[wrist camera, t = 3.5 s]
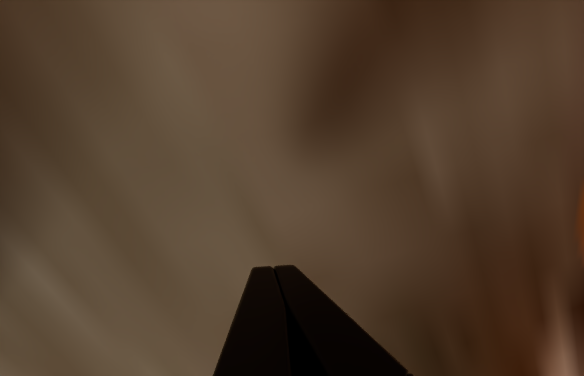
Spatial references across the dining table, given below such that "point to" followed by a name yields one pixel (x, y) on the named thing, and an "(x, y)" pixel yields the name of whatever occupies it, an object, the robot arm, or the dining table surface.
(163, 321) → the dining table surface
